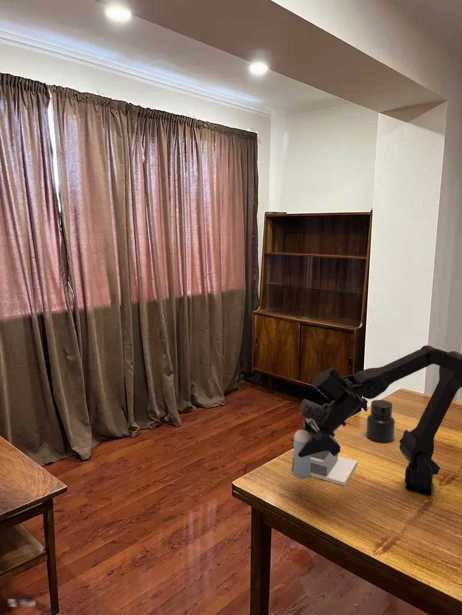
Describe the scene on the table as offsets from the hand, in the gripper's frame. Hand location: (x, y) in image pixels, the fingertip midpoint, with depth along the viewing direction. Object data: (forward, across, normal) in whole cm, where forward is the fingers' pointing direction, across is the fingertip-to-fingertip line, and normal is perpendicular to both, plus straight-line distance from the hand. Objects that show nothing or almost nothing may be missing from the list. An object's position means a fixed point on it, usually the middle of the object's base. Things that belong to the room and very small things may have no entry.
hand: (297, 451), depth 117 cm
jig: (0, -12, +17) cm, 21 cm away
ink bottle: (-16, -30, +34) cm, 48 cm away
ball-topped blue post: (+4, 0, +6) cm, 7 cm away
